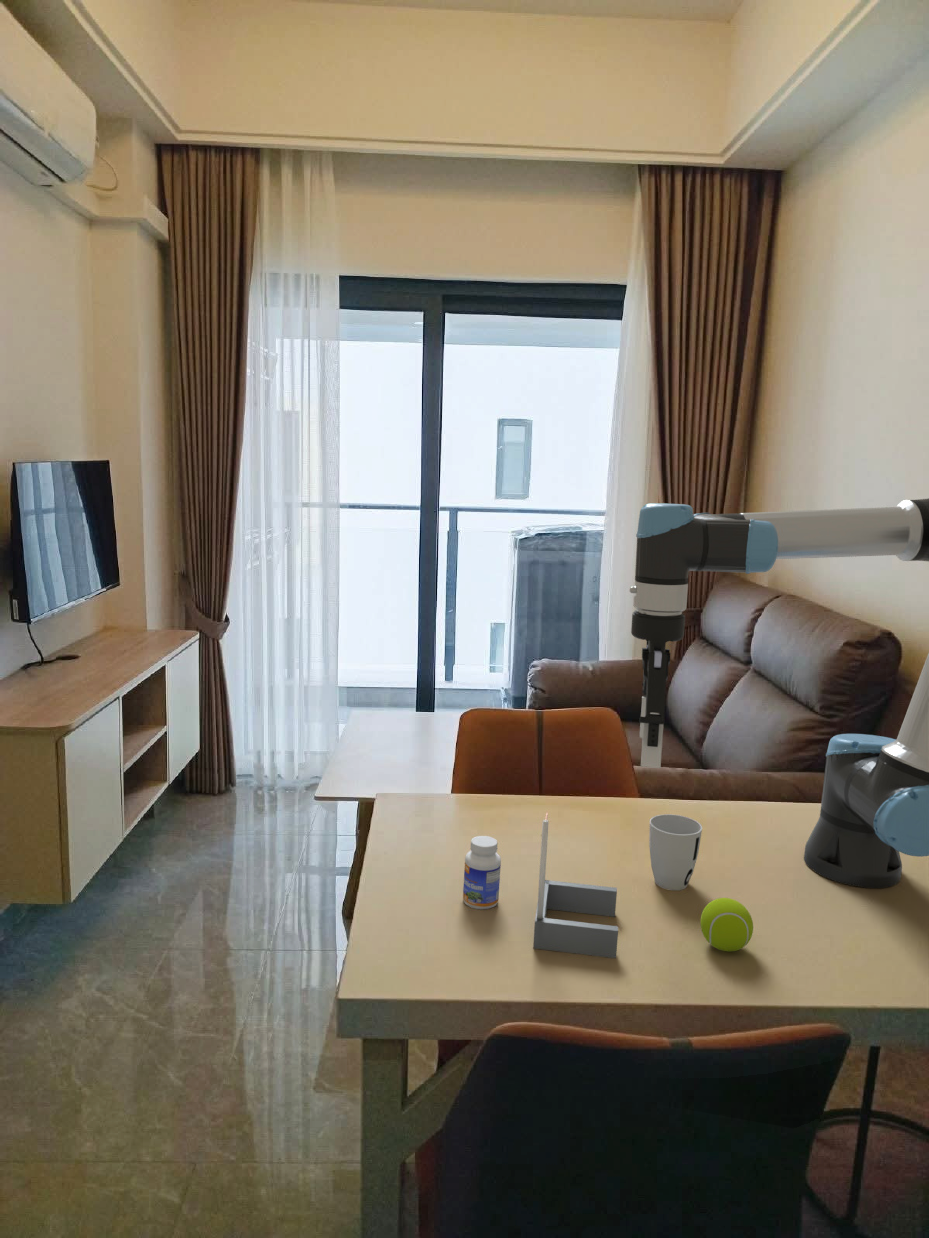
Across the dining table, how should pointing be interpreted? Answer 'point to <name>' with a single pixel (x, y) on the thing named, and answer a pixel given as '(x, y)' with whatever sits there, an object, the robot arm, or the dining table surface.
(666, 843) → the cup
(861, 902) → the dining table surface
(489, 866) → the pill bottle
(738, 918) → the tennis ball
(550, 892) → the gray u frame
